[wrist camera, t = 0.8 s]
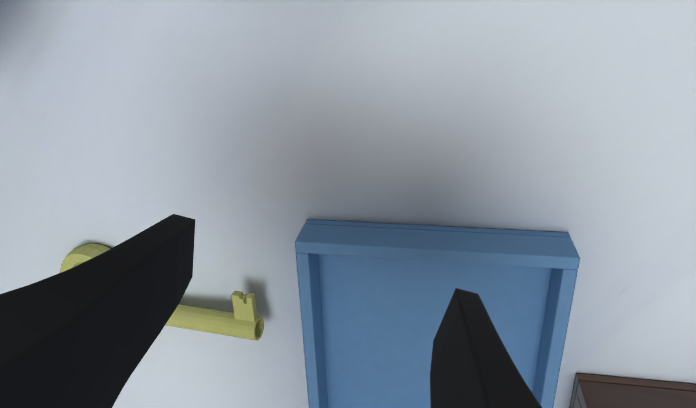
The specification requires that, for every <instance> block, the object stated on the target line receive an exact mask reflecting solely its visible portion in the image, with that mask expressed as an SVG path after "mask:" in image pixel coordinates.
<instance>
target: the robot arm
mask: <svg viewBox="0 0 696 408" xmlns="http://www.w3.org/2000/svg"><path fill="white" fill-rule="evenodd" d="M194 233H195V219H191V218H187V217H183V216H179V215H176V214H173V215H171V216H169V217H167V218H165V219H164V220H162V221H160V222H158V223H156V224H155V225H153V226H151V227H149V228H148V229H146V230H144V231H142V232H141V233H139V234H137V235H135V236H134V237H132V238H130V239H128V240H126V241H125V242H123V243H121V244H119V245H117V246H115V247H114V248H112V249H110V250H108V251H106V252H104V253H102V254H100V255H98V256H96V257H94V258H92V259H90V260H88V261H86V262H83V263H81V264H79V265H77V266H75V267H73V268H71V269H68V270H66V271H64V272H61V273H59V274H57V275H54V276H51V277H49V278H46V279H44V280H41V281H39V282H36V283H33V284H31V285H28V286H25V287H22V288H19V289H15V290H12V291H9V292H6V293H3V294H0V408H112V406H113V405H114V403H115V401H116V399H117V397H118V395H119V394H120V392H121V390H122V388H123V387H124V385H125V383H126V382H127V380H128V379H129V377H130V375H131V374H132V372H133V371H134V369H135V368H136V367H137V365H138V364H139V362H140V361H141V359H142V358H143V356H144V355H145V354H146V352H147V351H148V349H149V348H150V346H151V345H152V343H153V342H154V340H155V339H156V338H157V336H158V335H159V333H160V332H161V330H162V329H163V327H164V326H165V324H166V323H167V321H168V320H169V318H170V317H171V316H172V314H173V312H174V311H175V309H176V308H177V306H178V304H179V302H180V300H181V298H182V296H183V295H184V293H185V291H186V288H187V286H188V284H189V282H190V280H191V278H192V272H193V252H194ZM430 401H431V408H542V406H541V405H540V404H539V402H538V401H537V399H536V398H535V396H534V395H533V394H532V392H531V391H530V389H529V387H528V386H527V384H526V383H525V381H524V379H523V378H522V376H521V375H520V373H519V371H518V369H517V368H516V366H515V364H514V363H513V361H512V359H511V357H510V355H509V353H508V352H507V350H506V348H505V346H504V344H503V342H502V341H501V339H500V337H499V335H498V333H497V331H496V329H495V327H494V325H493V323H492V321H491V319H490V317H489V315H488V312H487V310H486V308H485V306H484V304H483V302H482V300H481V298H480V296H479V294H477V293H473V292H470V291H466V290H462V289H458V288H455V291H454V293H453V296H452V298H451V300H450V303H449V305H448V307H447V310H446V312H445V314H444V317H443V319H442V321H441V324H440V326H439V328H438V331H437V333H436V335H435V338H434V340H433V348H432V358H431V369H430Z"/></svg>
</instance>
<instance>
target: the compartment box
mask: <svg viewBox="0 0 696 408" xmlns="http://www.w3.org/2000/svg"><path fill="white" fill-rule="evenodd" d="M570 408H696V384H687V383H677V382H666V381H655V380H645V379H634V378H623V377H612V376H602V375H591V374H580V373H577V374H576V379H575V384H574V389H573V394H572V399H571V404H570Z"/></svg>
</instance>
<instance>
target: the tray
mask: <svg viewBox="0 0 696 408" xmlns="http://www.w3.org/2000/svg"><path fill="white" fill-rule="evenodd" d="M295 249H296V260H297V272H298V284H299V295H300V307H301V319H302V331H303V343H304V354H305V366H306V378H307V390H308V402H309V408H431V401H430V369H431V358H432V348H433V340H434V338H435V335H436V333H437V331H438V328H439V326H440V324H441V321H442V319H443V317H444V314H445V312H446V310H447V307H448V305H449V303H450V300H451V298H452V296H453V293H454V291H455V288H458V289H462V290H466V291H470V292H473V293H477V294H479V296H480V298H481V300H482V302H483V304H484V306H485V308H486V310H487V312H488V315H489V317H490V319H491V321H492V323H493V325H494V327H495V329H496V331H497V333H498V335H499V337H500V339H501V341H502V342H503V344H504V346H505V348H506V350H507V352H508V353H509V355H510V357H511V359H512V361H513V363H514V364H515V366H516V368H517V369H518V371H519V373H520V375H521V376H522V378H523V379H524V381H525V383H526V384H527V386H528V387H529V389H530V391H531V392H532V394H533V395H534V396H535V398H536V399H537V401H538V402H539V404H540V405H541V406H542V408H553V403H554V398H555V392H556V387H557V381H558V376H559V370H560V365H561V359H562V354H563V348H564V343H565V337H566V332H567V326H568V321H569V315H570V310H571V304H572V299H573V293H574V288H575V282H576V277H577V269H578V266H579V261H580V257H579V255H578V253H577V251H576V248H575V246H574V244H573V242H572V240H571V238H570V235H569V233H567V232H547V231H527V230H507V229H487V228H467V227H447V226H427V225H407V224H387V223H367V222H347V221H327V220H307V221H306V222H305V224H304V226H303V228H302V230H301V231H300V233H299V235H298V237H297V239H296V241H295Z"/></svg>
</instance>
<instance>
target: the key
mask: <svg viewBox="0 0 696 408" xmlns="http://www.w3.org/2000/svg"><path fill="white" fill-rule="evenodd" d="M108 250H110V248H108V247H106V246H103V245H99V244H86V245H84V246H81V247H78V248H76V249H74V250H72V251H71V252H70V253H69V254H68V255H67V256H66V257H65V259H64V260H63V263H62V265H61V270H60V273H61V272H64V271H66V270H68V269H71V268H73V267H75V266H77V265H79V264H81V263H83V262H86V261H88V260H90V259H92V258H94V257H96V256H98V255H100V254H102V253H104V252H106V251H108ZM231 296H232V303H233V309H234V313H232V312H225V311H219V310H212V309H206V308H199V307H193V306H186V305H180V304H178V306H177V308H176V309H175V311H174V312H173V314H172V316H171V317H170V318H169V320H168V321H167V323H166V324H165V325H168V326H174V327H180V328H186V329H192V330H198V331H204V332H210V333H216V334H221V335H227V336H233V337H239V338H245V339H251V340H259V339H260V337H261V335H262V333H263V328H264V321H263V318H262V317H258V315H257V307H256V299H255V293H249V295H248V296H247V295H244V294H243V292H241V291H234V293H233V294H232V295H231Z"/></svg>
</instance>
